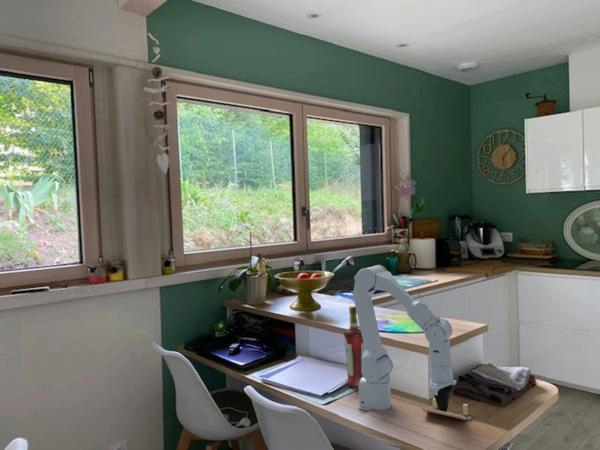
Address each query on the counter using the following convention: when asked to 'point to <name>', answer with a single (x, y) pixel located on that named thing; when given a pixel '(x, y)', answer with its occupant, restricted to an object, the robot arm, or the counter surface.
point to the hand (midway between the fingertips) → (442, 411)
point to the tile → (444, 413)
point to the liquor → (354, 350)
